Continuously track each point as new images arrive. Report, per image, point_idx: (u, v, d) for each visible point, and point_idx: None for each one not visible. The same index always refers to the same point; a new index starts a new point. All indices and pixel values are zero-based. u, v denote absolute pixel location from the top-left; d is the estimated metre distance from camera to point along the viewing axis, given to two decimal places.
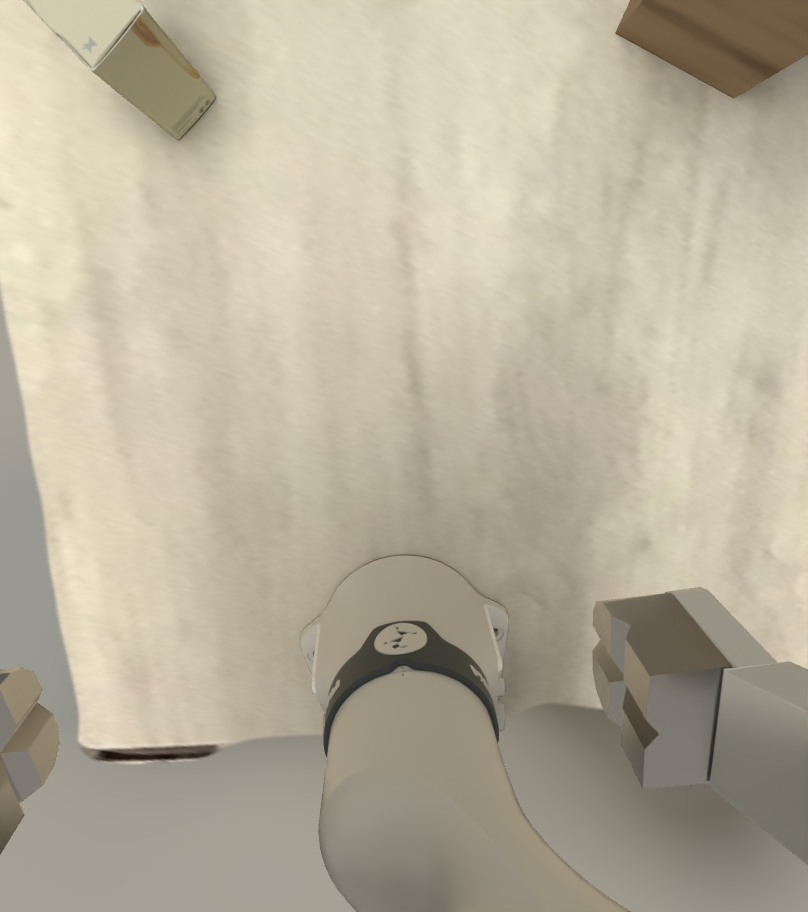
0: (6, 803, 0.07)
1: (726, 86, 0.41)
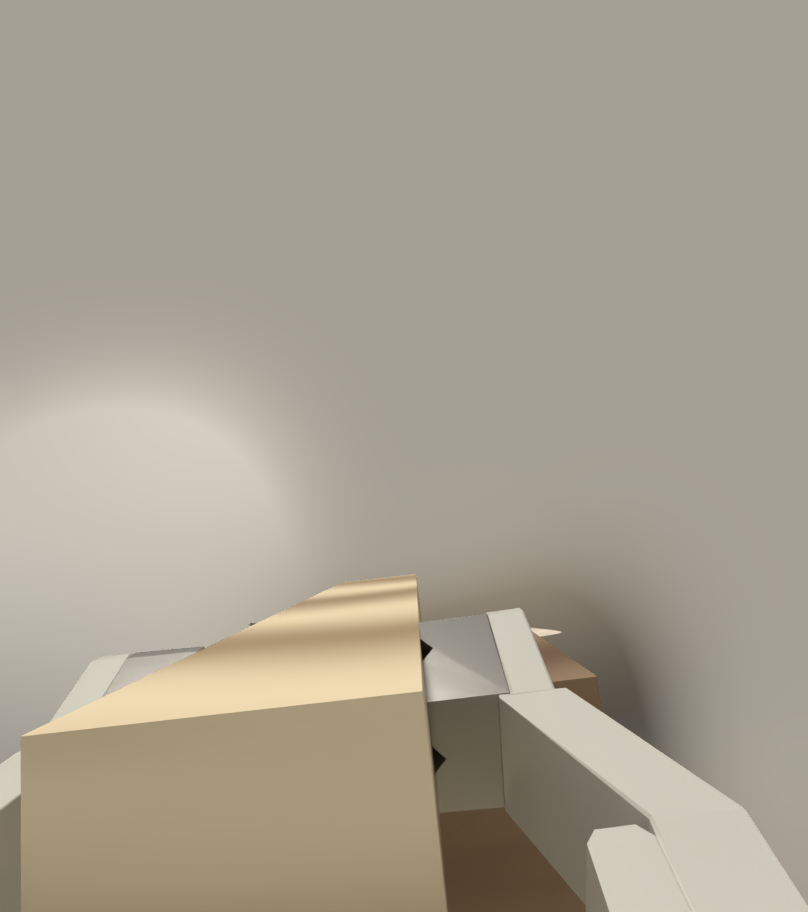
0: None
1: None
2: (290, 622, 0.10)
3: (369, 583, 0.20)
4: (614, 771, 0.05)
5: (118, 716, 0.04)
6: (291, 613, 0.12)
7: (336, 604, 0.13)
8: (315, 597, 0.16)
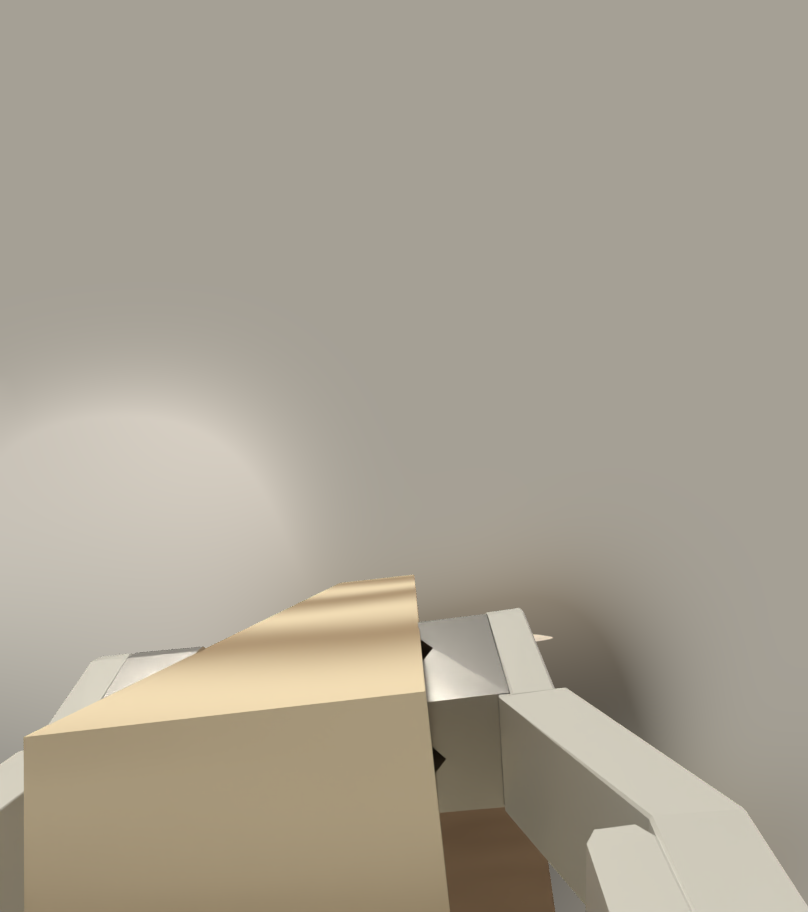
0: None
1: None
2: (289, 623, 0.10)
3: (367, 583, 0.20)
4: (613, 770, 0.05)
5: (121, 717, 0.04)
6: (290, 614, 0.12)
7: (335, 604, 0.13)
8: (313, 597, 0.16)
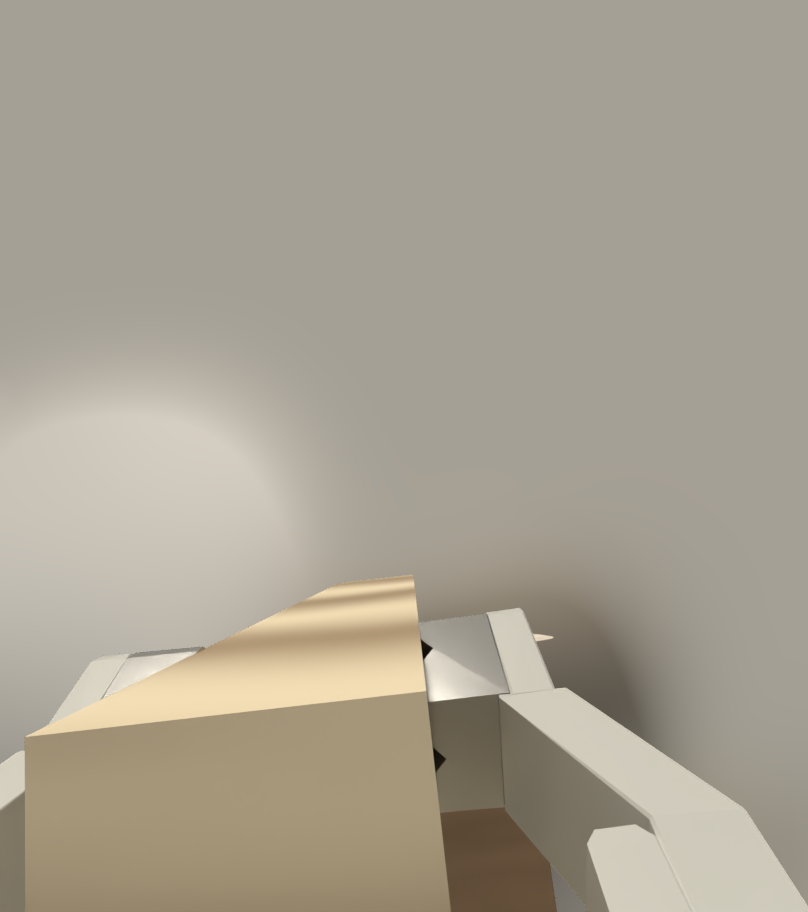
0: None
1: None
2: (289, 622, 0.10)
3: (366, 584, 0.20)
4: (614, 770, 0.05)
5: (122, 716, 0.05)
6: (289, 614, 0.12)
7: (334, 605, 0.13)
8: (313, 598, 0.16)
